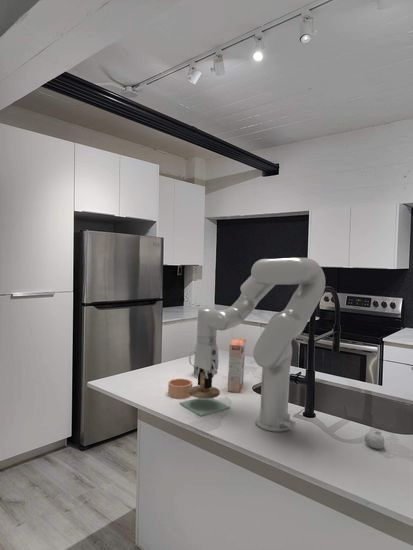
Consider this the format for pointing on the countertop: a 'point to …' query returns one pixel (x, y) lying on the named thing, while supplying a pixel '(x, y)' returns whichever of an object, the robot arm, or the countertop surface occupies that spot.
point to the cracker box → (236, 365)
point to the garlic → (374, 440)
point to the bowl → (179, 388)
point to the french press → (194, 366)
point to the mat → (204, 406)
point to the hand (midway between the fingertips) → (204, 385)
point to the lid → (203, 389)
